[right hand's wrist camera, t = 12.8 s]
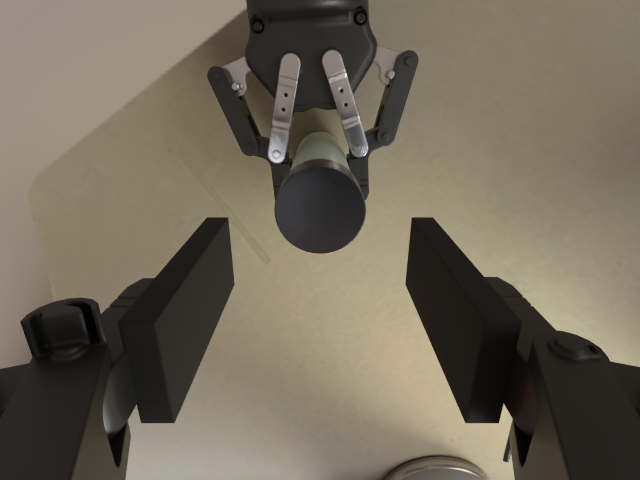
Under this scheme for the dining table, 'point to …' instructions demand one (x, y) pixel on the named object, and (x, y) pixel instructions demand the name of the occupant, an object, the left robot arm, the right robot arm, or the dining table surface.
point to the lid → (320, 206)
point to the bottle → (320, 149)
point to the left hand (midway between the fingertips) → (322, 206)
